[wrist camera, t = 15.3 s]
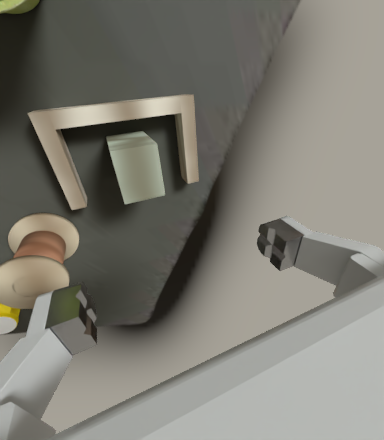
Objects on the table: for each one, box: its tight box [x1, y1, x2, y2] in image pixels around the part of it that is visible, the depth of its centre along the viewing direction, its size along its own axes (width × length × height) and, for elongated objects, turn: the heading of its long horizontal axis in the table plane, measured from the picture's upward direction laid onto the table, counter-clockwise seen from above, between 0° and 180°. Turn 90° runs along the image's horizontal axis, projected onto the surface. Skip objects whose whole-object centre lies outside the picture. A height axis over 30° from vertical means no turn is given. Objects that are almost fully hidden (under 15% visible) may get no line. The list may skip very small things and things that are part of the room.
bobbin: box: [0, 213, 79, 309], centre depth 23 cm, size 7×7×8 cm
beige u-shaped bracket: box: [28, 94, 199, 210], centre depth 23 cm, size 15×10×2 cm, turn 95°
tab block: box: [106, 131, 165, 204], centre depth 22 cm, size 4×5×7 cm
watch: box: [0, 303, 20, 334], centre depth 25 cm, size 6×3×6 cm, turn 160°
